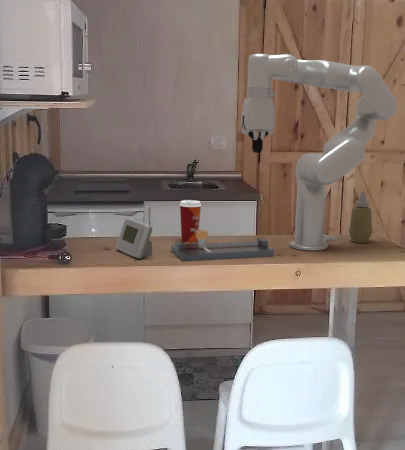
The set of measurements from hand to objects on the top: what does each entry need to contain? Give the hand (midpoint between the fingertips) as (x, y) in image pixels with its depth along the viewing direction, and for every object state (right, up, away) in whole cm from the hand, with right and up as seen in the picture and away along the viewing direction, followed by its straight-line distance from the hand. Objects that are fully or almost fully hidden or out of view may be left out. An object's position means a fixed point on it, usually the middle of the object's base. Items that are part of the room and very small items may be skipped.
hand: (257, 152), depth 212 cm
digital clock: (-39, -33, -3) cm, 51 cm away
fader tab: (-18, -30, -3) cm, 35 cm away
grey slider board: (-11, -33, 0) cm, 34 cm away
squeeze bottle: (+38, -29, +22) cm, 53 cm away
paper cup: (-22, -29, +17) cm, 40 cm away
